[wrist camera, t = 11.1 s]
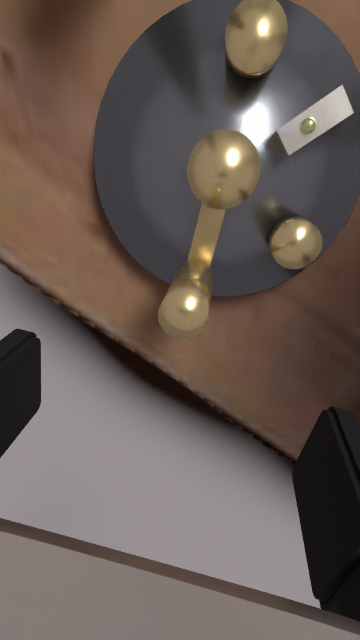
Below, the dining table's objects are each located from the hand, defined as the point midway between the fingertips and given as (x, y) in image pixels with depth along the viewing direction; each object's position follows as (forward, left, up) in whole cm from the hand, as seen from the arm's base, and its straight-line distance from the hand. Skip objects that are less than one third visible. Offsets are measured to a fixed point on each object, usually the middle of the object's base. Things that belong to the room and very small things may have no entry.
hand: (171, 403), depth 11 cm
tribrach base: (0, -7, -21) cm, 22 cm away
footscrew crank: (0, -3, -19) cm, 19 cm away
